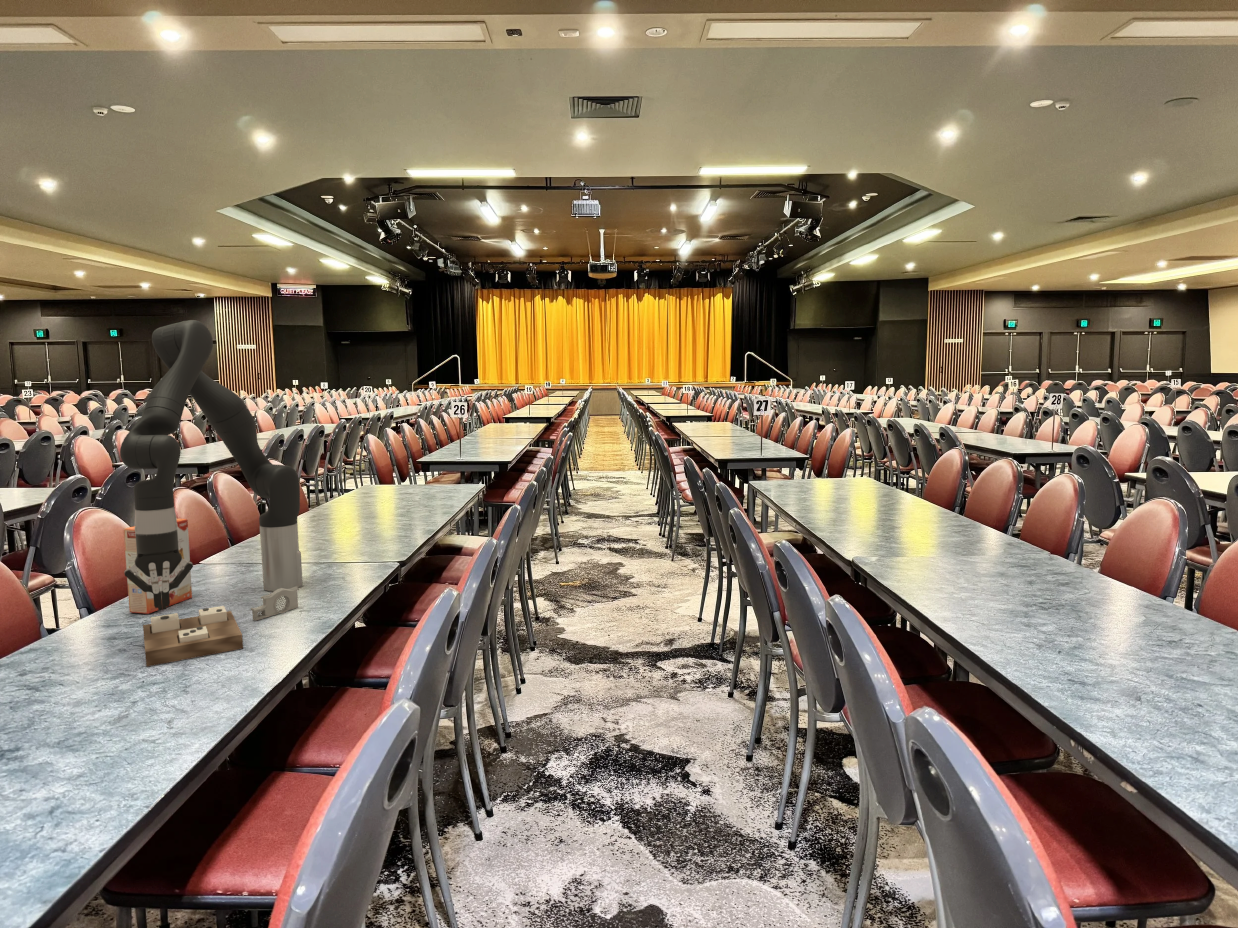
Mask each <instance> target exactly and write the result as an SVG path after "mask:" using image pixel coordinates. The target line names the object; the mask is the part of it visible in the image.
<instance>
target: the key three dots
mask: <svg viewBox="0 0 1238 928" xmlns="http://www.w3.org/2000/svg"><path fill="white" fill-rule="evenodd" d="M178 634H179V643H183V642H189V641H195V640H200V639H206V638H208V631H207V628H206V626H204V627H197V628H192V629H186V630H181V631H178Z"/></svg>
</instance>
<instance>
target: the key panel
mask: <svg viewBox="0 0 1238 928" xmlns="http://www.w3.org/2000/svg"><path fill="white" fill-rule="evenodd" d="M226 611H227V610H226ZM179 624H180V629H175V630H169V631H163V632H157V633H152V627H151V623H147V624H143V625H142V628H143V629H142V630H143V631H142V633H143V641H144V642H143V643H144V653H145V654H144V655H145V665H146V667H147V668H148V667H151V666H156V665H157V666H159V665H163V664H167V663H174V662H178V661H179V662H180V661H183V660H188V659H189V660H190V659H193V658H200V657H204V656H210V655H217V654H220V653H226V652H232V651H238V650H241V649H244V643H243V634H242V632H241V629H240V627H239V625H238V623H237V621H236V619H235V616H234V615H233V612H232V610H228V611H227V621H223V622H217V623H211V624H205V625H200V621H199V615H197V616H196V615H195V616H192V617H186V618H179ZM204 626H206V628H207V631H208V638H206V639H200V640H195V641H189V642H183V643H179V634H178V631H181V630H186V629H192V628H197V627H204Z"/></svg>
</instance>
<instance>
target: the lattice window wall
mask: <svg viewBox="0 0 1238 928" xmlns="http://www.w3.org/2000/svg"><path fill="white" fill-rule="evenodd" d="M298 591H299V587H297V586H296V587H293V588H291V589H284V588H280V589H278V590H276V591H271V593H270V594H266V595H262V596H261V597H260V599H262V605H260V606H257V607H251V608H250V611H251V612H252V613H251V614H252V621H260V620H263V619H267V618H268V617H272V616H275V615H278V614H283V613H286V612H288V611H292V610H294V609H297V608H299V599H298V598H299V597H298V596H299V595H298Z"/></svg>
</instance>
